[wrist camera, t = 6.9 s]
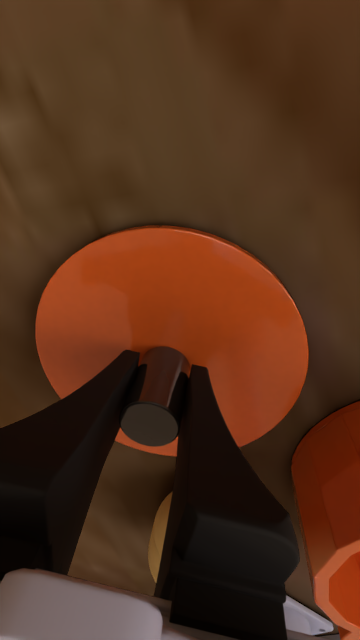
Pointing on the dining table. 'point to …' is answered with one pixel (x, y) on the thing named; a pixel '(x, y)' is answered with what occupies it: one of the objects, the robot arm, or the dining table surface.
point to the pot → (332, 514)
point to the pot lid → (175, 330)
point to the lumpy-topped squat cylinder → (332, 637)
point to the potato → (158, 536)
